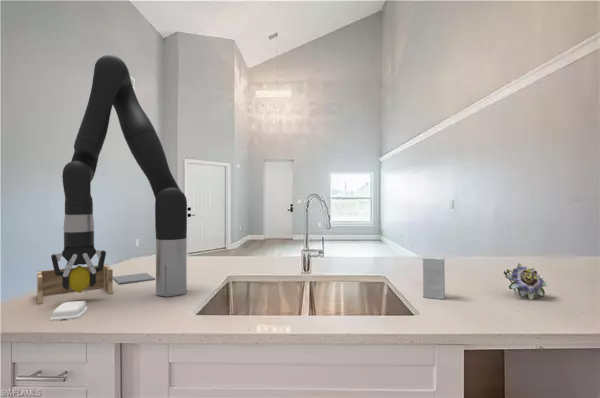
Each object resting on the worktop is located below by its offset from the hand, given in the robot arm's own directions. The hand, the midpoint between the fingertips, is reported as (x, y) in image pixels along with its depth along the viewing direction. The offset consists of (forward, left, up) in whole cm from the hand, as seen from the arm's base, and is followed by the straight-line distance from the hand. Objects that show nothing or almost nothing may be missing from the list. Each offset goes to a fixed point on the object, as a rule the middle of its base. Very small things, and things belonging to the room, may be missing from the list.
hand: (79, 287), depth 106 cm
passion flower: (-76, -109, -4) cm, 133 cm away
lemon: (0, 0, -2) cm, 2 cm away
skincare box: (-60, -86, -4) cm, 105 cm away
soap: (-13, +3, -4) cm, 14 cm away
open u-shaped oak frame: (+9, 0, -4) cm, 10 cm away
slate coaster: (+21, -19, -4) cm, 29 cm away
